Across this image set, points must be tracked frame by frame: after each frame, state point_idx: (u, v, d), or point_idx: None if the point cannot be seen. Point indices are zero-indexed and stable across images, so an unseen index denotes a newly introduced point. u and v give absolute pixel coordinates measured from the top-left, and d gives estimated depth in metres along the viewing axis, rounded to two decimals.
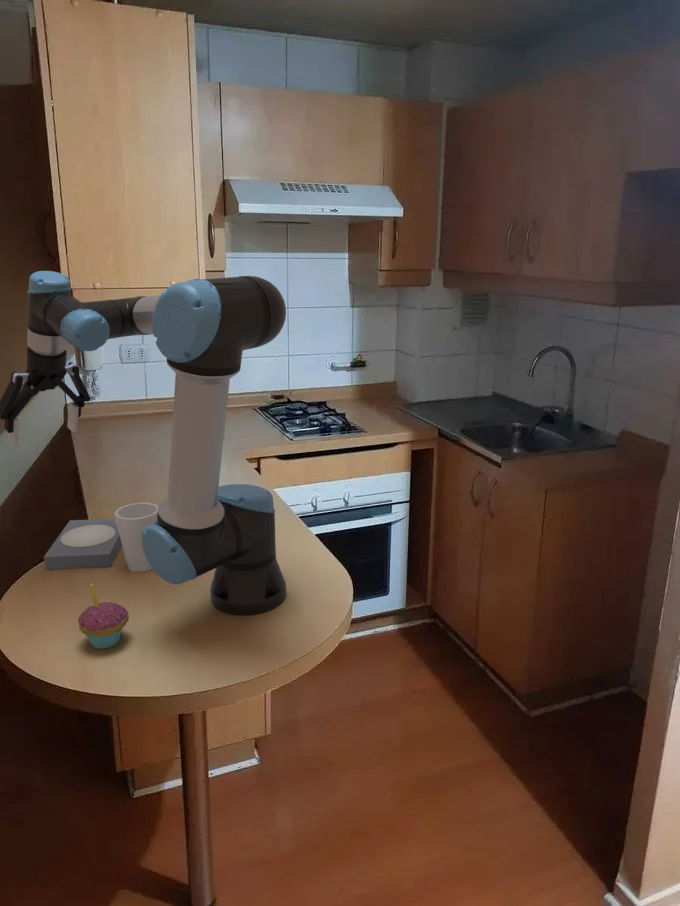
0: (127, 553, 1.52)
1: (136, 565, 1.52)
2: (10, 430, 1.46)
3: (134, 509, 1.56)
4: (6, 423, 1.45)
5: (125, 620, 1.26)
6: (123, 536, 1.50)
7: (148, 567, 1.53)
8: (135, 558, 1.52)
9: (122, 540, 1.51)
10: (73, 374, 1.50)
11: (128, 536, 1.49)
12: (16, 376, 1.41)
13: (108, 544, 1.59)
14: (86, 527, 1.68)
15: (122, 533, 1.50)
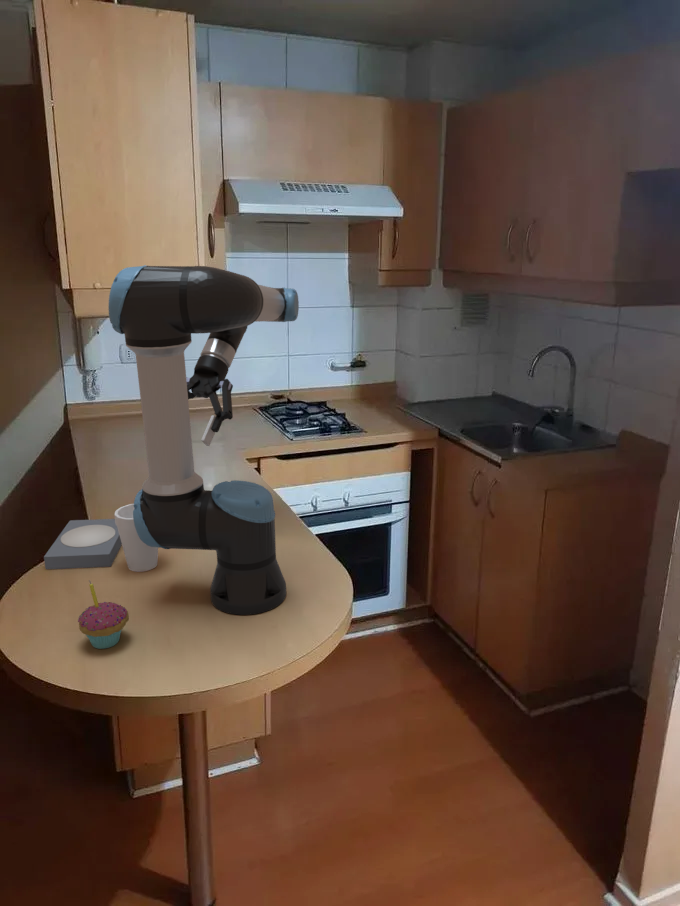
0: (127, 553, 1.52)
1: (136, 565, 1.52)
2: None
3: None
4: None
5: (125, 620, 1.26)
6: (123, 536, 1.50)
7: (148, 567, 1.53)
8: (135, 558, 1.52)
9: (122, 540, 1.51)
10: (222, 384, 1.63)
11: (128, 536, 1.49)
12: None
13: (108, 544, 1.59)
14: (86, 527, 1.68)
15: (122, 533, 1.50)
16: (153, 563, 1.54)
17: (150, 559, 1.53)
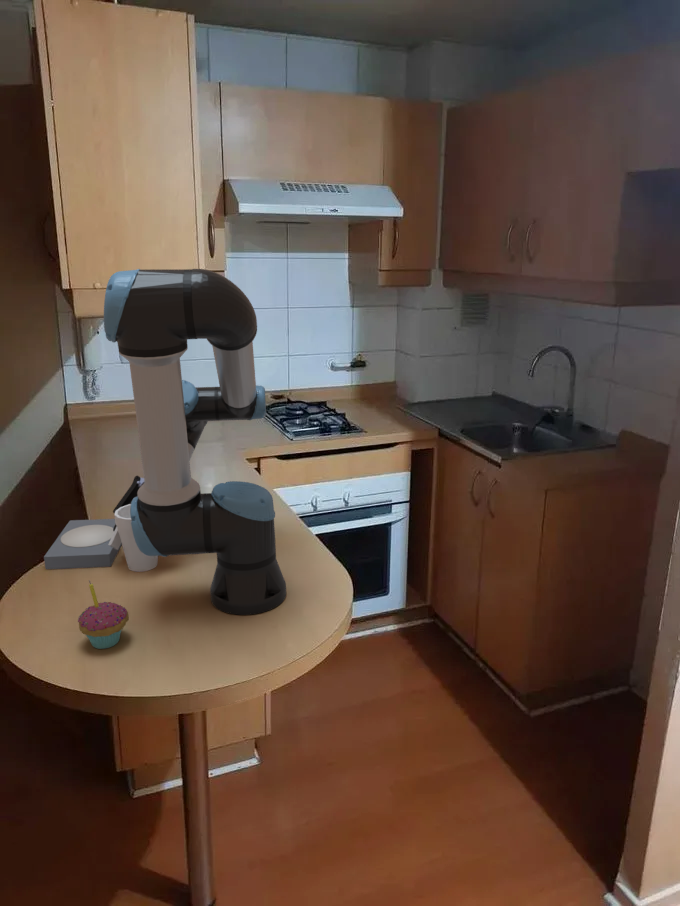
0: (127, 553, 1.52)
1: (136, 565, 1.53)
2: (115, 528, 1.55)
3: None
4: None
5: (125, 620, 1.26)
6: (123, 536, 1.50)
7: (148, 567, 1.53)
8: (135, 558, 1.52)
9: (122, 540, 1.51)
10: None
11: (128, 536, 1.49)
12: None
13: None
14: (86, 527, 1.68)
15: (122, 533, 1.50)
16: (153, 563, 1.54)
17: (150, 558, 1.53)
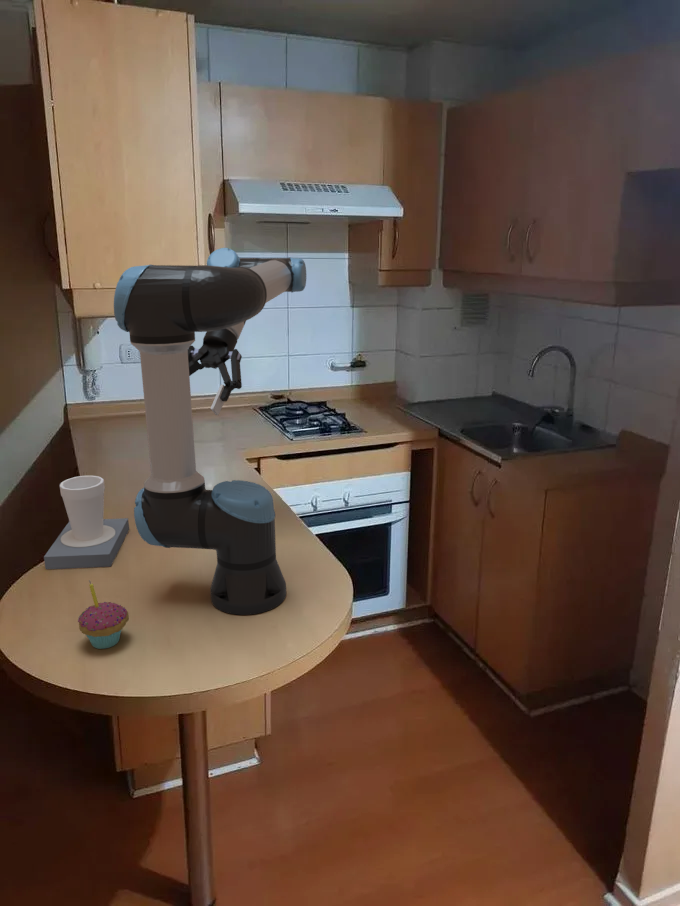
0: (72, 523, 1.59)
1: (81, 534, 1.60)
2: None
3: (80, 481, 1.63)
4: None
5: (125, 620, 1.26)
6: (68, 506, 1.58)
7: (93, 536, 1.61)
8: (80, 527, 1.59)
9: (67, 510, 1.59)
10: (231, 354, 1.63)
11: (72, 506, 1.57)
12: None
13: (108, 544, 1.59)
14: None
15: (67, 503, 1.57)
16: (98, 533, 1.62)
17: (95, 528, 1.61)
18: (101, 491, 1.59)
